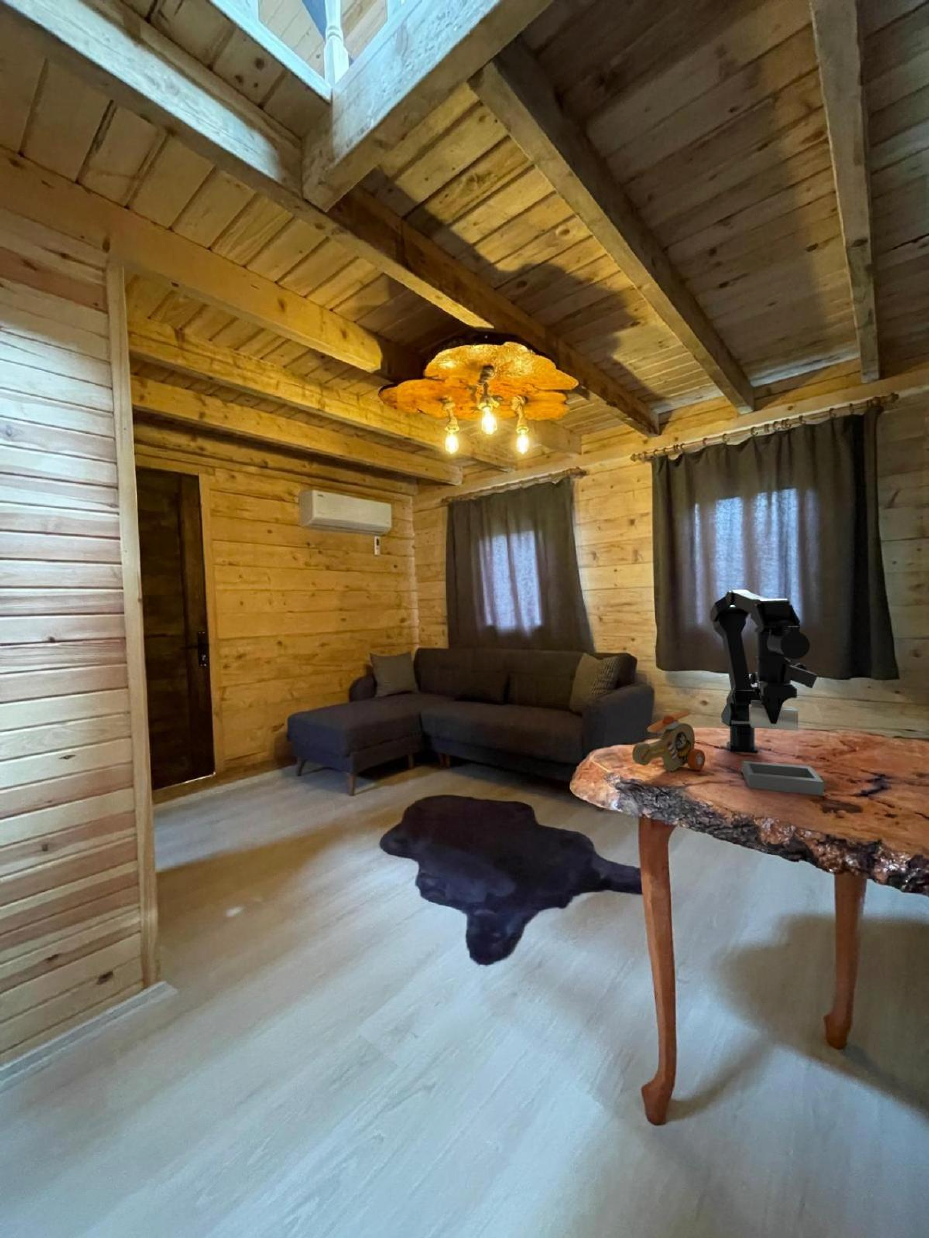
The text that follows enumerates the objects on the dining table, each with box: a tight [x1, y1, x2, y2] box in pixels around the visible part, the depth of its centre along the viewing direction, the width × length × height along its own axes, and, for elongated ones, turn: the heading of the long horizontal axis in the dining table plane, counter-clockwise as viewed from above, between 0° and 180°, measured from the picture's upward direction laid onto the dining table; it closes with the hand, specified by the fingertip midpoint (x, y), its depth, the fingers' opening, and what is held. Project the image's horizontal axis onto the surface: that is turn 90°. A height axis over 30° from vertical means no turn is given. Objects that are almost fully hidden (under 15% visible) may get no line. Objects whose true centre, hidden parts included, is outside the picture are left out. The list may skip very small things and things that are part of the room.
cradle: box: [742, 760, 824, 796], centre depth 107 cm, size 9×13×3 cm
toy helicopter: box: [631, 709, 706, 772], centre depth 115 cm, size 8×21×14 cm, turn 123°
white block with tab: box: [749, 700, 799, 732], centre depth 115 cm, size 4×9×6 cm, turn 68°
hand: (771, 721), depth 115 cm, fingers closed on white block with tab, 4 cm apart
